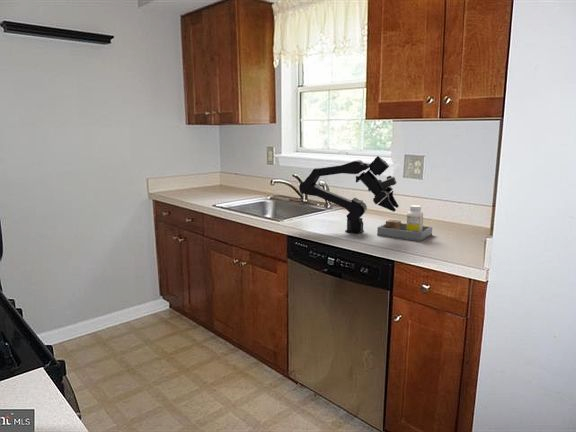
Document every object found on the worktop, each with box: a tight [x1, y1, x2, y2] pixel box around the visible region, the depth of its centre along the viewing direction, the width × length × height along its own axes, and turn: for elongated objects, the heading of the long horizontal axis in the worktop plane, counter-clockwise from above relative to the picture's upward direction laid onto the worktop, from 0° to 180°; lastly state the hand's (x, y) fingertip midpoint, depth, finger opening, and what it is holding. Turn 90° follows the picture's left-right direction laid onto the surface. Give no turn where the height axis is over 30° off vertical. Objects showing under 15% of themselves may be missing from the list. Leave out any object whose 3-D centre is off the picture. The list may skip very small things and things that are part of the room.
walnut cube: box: [385, 218, 402, 230], centre depth 193 cm, size 5×5×5 cm
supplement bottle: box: [406, 204, 424, 233], centre depth 187 cm, size 7×7×13 cm
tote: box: [376, 222, 433, 242], centre depth 190 cm, size 20×14×4 cm
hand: (396, 209), depth 188 cm, fingers open, 9 cm apart
